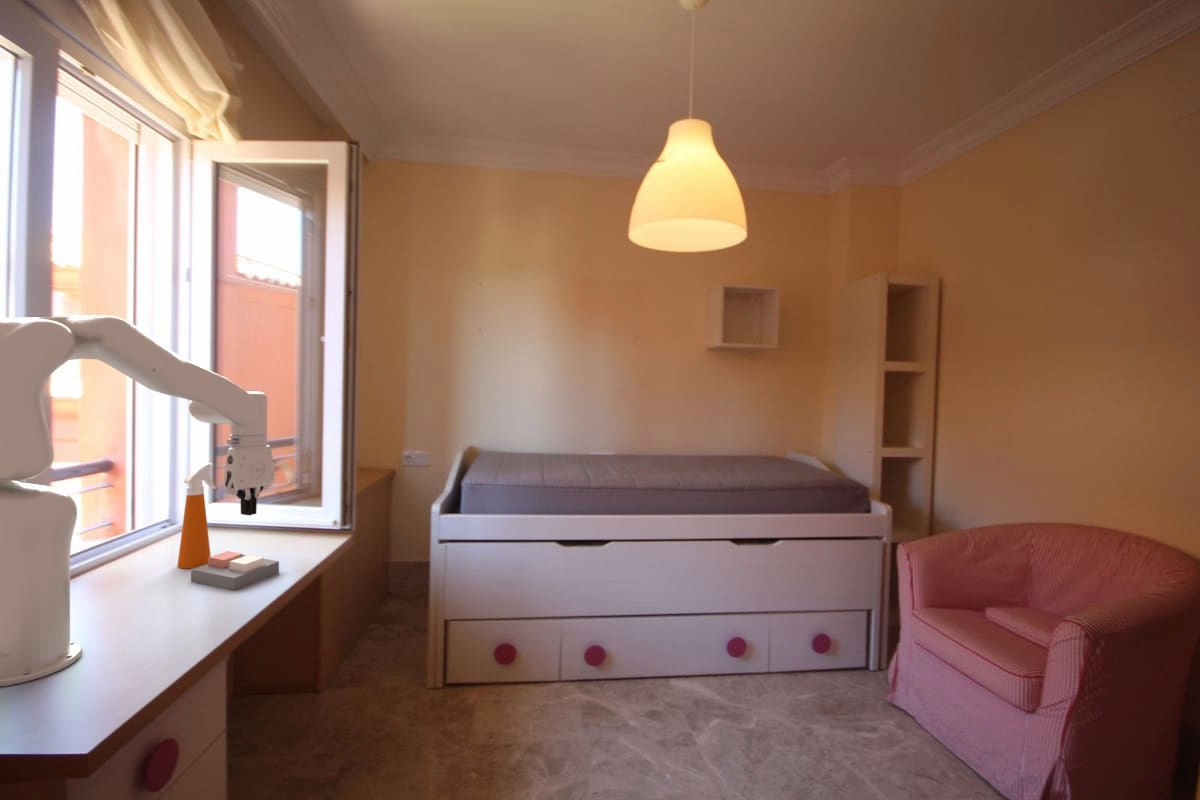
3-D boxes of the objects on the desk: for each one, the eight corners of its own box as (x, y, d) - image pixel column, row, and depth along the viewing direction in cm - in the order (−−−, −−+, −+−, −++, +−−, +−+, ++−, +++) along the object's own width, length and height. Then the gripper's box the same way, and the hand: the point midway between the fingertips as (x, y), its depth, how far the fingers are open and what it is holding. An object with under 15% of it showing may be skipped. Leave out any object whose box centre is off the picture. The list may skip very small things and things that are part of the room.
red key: (223, 569, 127) (223, 560, 127) (208, 566, 129) (208, 557, 129) (242, 562, 132) (242, 553, 132) (227, 560, 134) (228, 551, 133)
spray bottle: (227, 555, 144) (228, 462, 143) (198, 569, 133) (199, 469, 132) (201, 554, 144) (202, 461, 143) (170, 568, 133) (171, 467, 132)
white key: (245, 573, 125) (245, 564, 125) (229, 570, 127) (229, 561, 127) (263, 566, 130) (263, 557, 130) (248, 564, 132) (248, 554, 131)
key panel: (234, 590, 122) (234, 578, 122) (190, 581, 126) (191, 569, 126) (278, 572, 133) (278, 561, 133) (237, 564, 137) (237, 553, 137)
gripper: (231, 446, 119) (230, 524, 120) (287, 439, 133) (286, 508, 134) (207, 443, 121) (207, 520, 122) (264, 437, 135) (264, 505, 136)
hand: (248, 514), depth 128 cm, fingers closed
